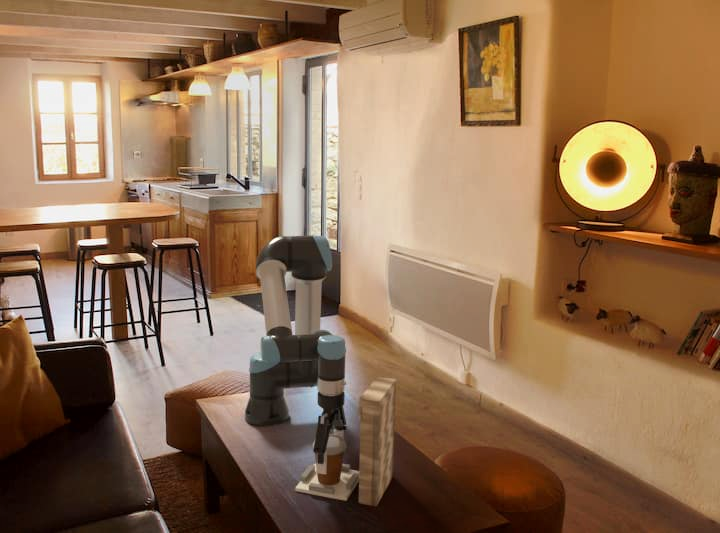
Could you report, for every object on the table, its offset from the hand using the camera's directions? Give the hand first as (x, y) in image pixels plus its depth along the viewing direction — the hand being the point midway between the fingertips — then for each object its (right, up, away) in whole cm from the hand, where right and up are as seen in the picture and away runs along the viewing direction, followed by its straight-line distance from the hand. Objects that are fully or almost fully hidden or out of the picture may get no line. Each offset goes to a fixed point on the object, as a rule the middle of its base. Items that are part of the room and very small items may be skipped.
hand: (330, 461), depth 194 cm
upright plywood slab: (+13, -7, -2) cm, 15 cm away
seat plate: (0, -6, +1) cm, 6 cm away
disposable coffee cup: (0, -6, +1) cm, 6 cm away
